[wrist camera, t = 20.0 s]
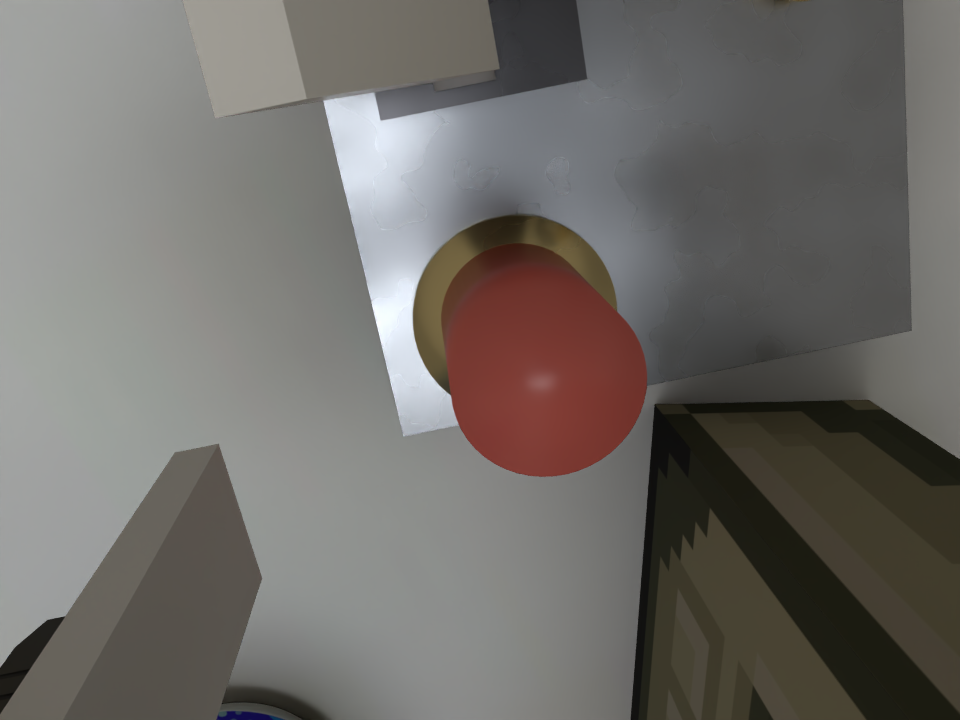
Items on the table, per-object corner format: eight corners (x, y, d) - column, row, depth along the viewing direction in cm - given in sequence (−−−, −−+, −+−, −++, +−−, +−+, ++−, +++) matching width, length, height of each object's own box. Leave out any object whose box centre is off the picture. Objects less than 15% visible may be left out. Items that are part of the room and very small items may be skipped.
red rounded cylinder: (426, 260, 23) (431, 312, 18) (578, 228, 23) (633, 270, 18) (457, 403, 25) (472, 494, 19) (601, 372, 25) (659, 454, 19)
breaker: (420, -39, 19) (160, -77, 11) (485, -57, 18) (255, -110, 11) (445, 89, 19) (219, 132, 12) (508, 76, 19) (310, 113, 11)
